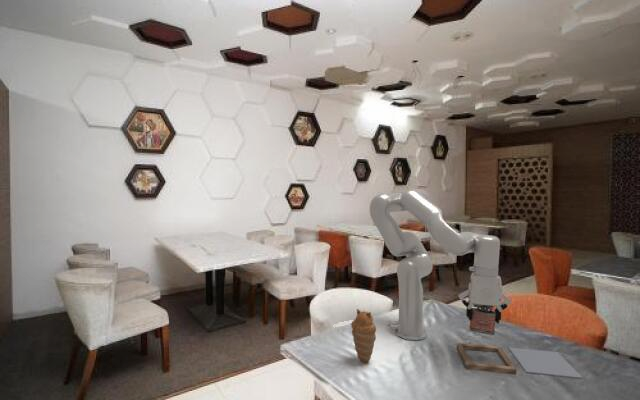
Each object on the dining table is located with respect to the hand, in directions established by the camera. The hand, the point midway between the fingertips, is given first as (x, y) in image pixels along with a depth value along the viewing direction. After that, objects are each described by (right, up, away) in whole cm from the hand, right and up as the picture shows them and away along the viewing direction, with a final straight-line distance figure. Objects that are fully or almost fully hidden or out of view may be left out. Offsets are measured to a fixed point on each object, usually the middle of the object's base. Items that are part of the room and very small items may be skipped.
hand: (483, 320), depth 113 cm
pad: (+20, -14, -2) cm, 24 cm away
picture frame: (+1, -14, 0) cm, 14 cm away
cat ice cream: (-42, -14, -1) cm, 44 cm away
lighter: (0, -4, +1) cm, 5 cm away
